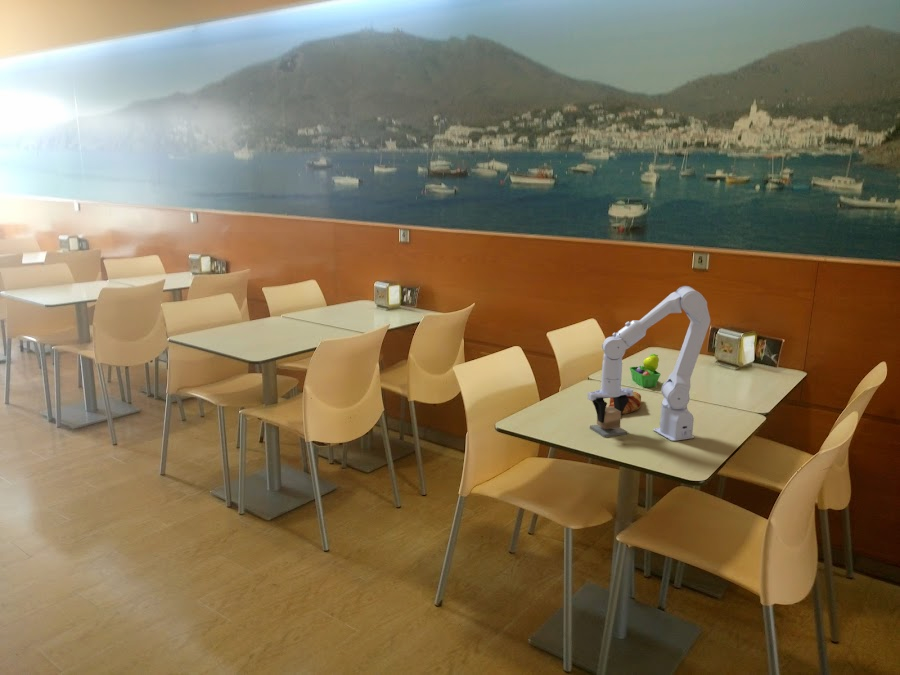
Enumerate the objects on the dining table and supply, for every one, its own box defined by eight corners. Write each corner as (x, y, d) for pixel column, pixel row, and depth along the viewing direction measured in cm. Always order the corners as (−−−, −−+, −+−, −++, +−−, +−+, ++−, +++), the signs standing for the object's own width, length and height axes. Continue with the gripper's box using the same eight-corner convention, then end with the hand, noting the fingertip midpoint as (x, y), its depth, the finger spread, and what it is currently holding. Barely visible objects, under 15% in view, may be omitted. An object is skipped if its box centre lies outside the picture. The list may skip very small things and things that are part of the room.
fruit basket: (627, 379, 259) (629, 351, 257) (649, 378, 261) (651, 350, 258) (641, 388, 248) (643, 358, 246) (663, 387, 250) (666, 357, 247)
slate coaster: (627, 434, 204) (627, 431, 204) (603, 437, 202) (604, 434, 201) (612, 425, 212) (612, 422, 211) (589, 428, 209) (589, 425, 209)
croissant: (629, 408, 238) (621, 387, 238) (655, 400, 231) (646, 378, 232) (603, 424, 221) (594, 400, 222) (630, 416, 215) (620, 392, 216)
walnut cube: (619, 427, 205) (620, 411, 204) (605, 429, 203) (606, 413, 202) (611, 421, 209) (611, 406, 208) (596, 423, 208) (597, 407, 207)
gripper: (624, 371, 209) (622, 413, 212) (583, 375, 204) (580, 418, 207) (638, 377, 202) (635, 421, 205) (595, 382, 198) (593, 426, 201)
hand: (608, 420), depth 206 cm, fingers closed on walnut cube, 5 cm apart
